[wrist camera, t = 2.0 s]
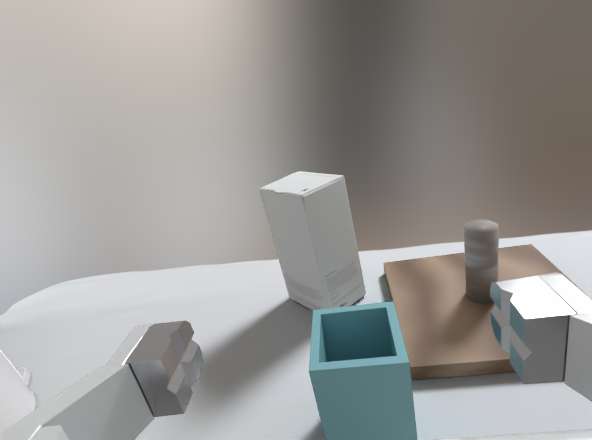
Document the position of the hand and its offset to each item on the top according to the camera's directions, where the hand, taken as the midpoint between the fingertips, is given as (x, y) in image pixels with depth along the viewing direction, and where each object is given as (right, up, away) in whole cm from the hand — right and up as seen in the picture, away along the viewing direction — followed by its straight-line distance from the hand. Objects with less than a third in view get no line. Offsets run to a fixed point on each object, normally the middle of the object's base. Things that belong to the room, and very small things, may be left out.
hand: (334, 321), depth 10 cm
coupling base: (+19, -6, +29) cm, 36 cm away
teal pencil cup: (+5, -14, +19) cm, 24 cm away
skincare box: (+3, -7, +37) cm, 38 cm away
